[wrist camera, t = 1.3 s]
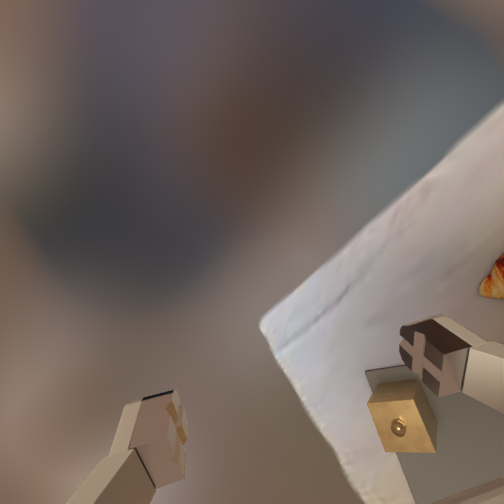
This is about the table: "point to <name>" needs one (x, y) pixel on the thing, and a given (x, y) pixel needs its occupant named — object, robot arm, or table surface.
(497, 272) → the croissant
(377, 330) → the table surface
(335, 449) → the table surface
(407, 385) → the brass knob block
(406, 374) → the charcoal mat
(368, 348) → the table surface
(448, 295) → the table surface
